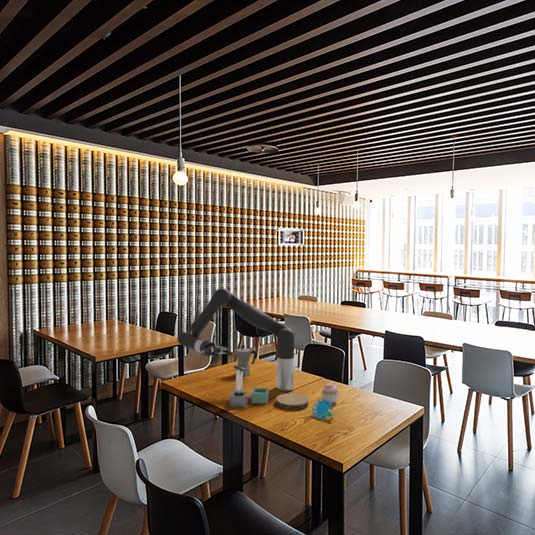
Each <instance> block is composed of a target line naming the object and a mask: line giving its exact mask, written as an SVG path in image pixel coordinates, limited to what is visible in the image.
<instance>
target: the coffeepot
mask: <svg viewBox="0 0 535 535" xmlns="http://www.w3.org/2000/svg"><path fill="white" fill-rule="evenodd" d="M233 351H234V353H235V354H236V357H237V366H239V367H242V368H245V369H246V371H245V372H243V378H245V376H247V377H250V376H251V368H250V364H251V365H254V364H255V362H256V359H257V356H258V352H256V350H254V349H249V348H246V345H244V344H243V345H242V348H236V349H235V348H234V349H233ZM251 354H253V358H252V361H250V359H251ZM249 375H250V376H249Z"/></svg>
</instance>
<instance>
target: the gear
mask: <svg viewBox="0 0 535 535" xmlns="http://www.w3.org/2000/svg"><path fill="white" fill-rule="evenodd" d="M324 401H325V399H323V398H322V399H321V400H320V399H317V400H316V402H317V403H316V402H314V403H313V406H314V407H312V408H311V410H312V412H311V413H312V415H313V416H314V417H315V419H318V418H319V420H323V418H324V419H327V418H328V417H329V418H331V419H332V420H333V419H335V417H334V412H332V411H333V407H332V406H333V404H332V403H331V402H330V403H329V400H328V399H327V400H326V401H325V402H324ZM315 407H316V408H315ZM329 410H330V411H329Z"/></svg>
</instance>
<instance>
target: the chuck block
mask: <svg viewBox="0 0 535 535" xmlns="http://www.w3.org/2000/svg"><path fill="white" fill-rule="evenodd" d="M248 403H249V391H242V396H236V390H232V391H231V393H230V395H229V402H228V404H229V405H228V406H229V408H244V407H246V408H247V406H248Z"/></svg>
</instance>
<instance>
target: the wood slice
mask: <svg viewBox="0 0 535 535" xmlns="http://www.w3.org/2000/svg"><path fill="white" fill-rule="evenodd" d="M275 405H276V406H277V408H280V409H282V408H283V409H282V410H286V409H287V411H299V410H304V409H307V408H308V407H309V398H308V397H307V396H305V395H303V394H299V393H281V394H279V395H277V396H276V397H275Z"/></svg>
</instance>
